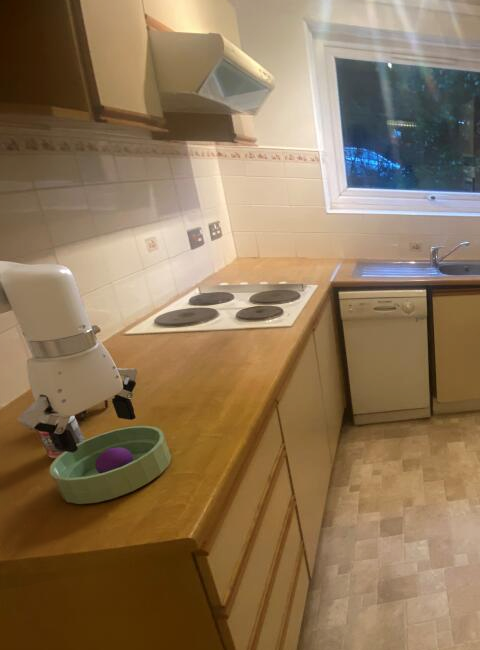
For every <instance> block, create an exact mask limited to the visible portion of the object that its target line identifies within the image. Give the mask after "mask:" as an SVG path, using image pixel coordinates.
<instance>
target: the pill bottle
mask: <svg viewBox="0 0 480 650" xmlns="http://www.w3.org/2000/svg"><path fill="white" fill-rule="evenodd" d="M47 416H48V415H43V414H40V415H39V417H38V420H40V421H41V422H43V423H44V422H45V420H46V418H47ZM58 418H59V417H58ZM57 420H58V419H57ZM56 423H57V421H56ZM55 425H56V424H55ZM65 430H70V431H71V433H72V436H73V438H74V440H75V443H76V445H77V444H79V443H80V442H82V441H85V440H86V439H85V437H84V435H83V431H82V430H81V427H80V425H79V422H77V421H76V418H75V416H71V417H70V419H69V421H68V424H67V426H66V428H65ZM35 431H36V432H37V435H38V437H39V439H40V441H41V443H42V445H43V447H44V449H45V451H46V453H47V455H48V457H50V459H51V458H52V459H56V458H57V457H58V456H60V455H61V454H62V453H64V452H65V451H60V450H58V449H56V448H55V447H54V444H53V442H52V440H51V438H50V435H49V433H48V432H42V431H37V430H35Z"/></svg>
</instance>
